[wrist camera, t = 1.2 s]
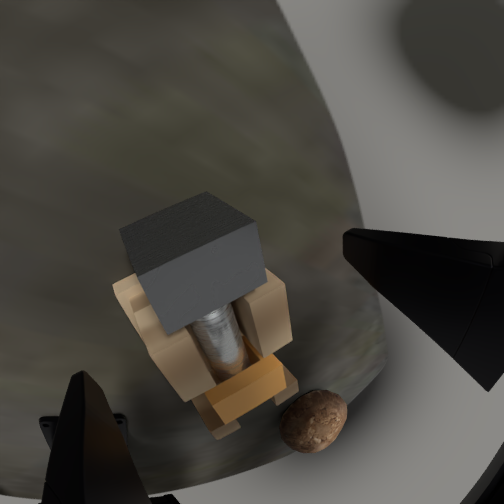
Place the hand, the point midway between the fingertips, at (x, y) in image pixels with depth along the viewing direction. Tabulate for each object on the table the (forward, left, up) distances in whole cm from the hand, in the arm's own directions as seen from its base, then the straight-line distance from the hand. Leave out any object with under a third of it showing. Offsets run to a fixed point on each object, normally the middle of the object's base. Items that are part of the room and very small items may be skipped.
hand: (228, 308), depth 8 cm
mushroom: (-20, -18, -7) cm, 28 cm away
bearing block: (-6, -3, -7) cm, 10 cm away
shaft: (-4, -2, -5) cm, 7 cm away
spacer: (-7, -4, -5) cm, 9 cm away
